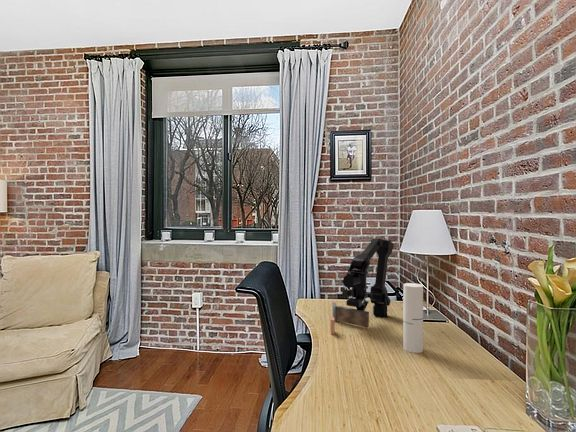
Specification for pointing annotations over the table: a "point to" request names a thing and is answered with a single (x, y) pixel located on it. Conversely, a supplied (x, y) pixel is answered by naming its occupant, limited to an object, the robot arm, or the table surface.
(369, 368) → the table surface
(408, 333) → the cylindrical container
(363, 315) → the gate
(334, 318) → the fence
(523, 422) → the table surface
